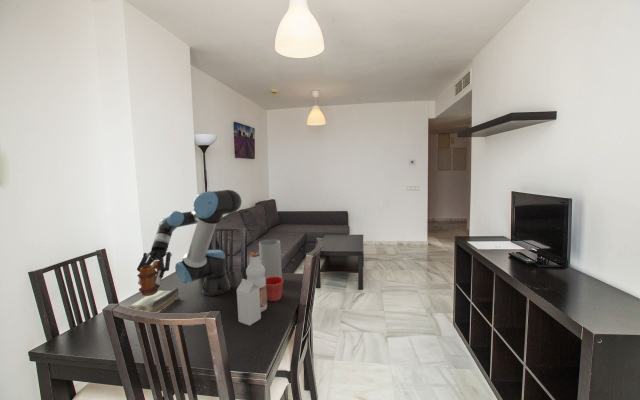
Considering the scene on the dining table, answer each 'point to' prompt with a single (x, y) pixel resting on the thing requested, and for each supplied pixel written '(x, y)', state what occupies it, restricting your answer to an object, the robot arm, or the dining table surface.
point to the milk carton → (248, 302)
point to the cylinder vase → (271, 257)
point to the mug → (149, 279)
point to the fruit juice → (257, 277)
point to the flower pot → (274, 288)
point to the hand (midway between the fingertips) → (148, 284)
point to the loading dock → (156, 301)
